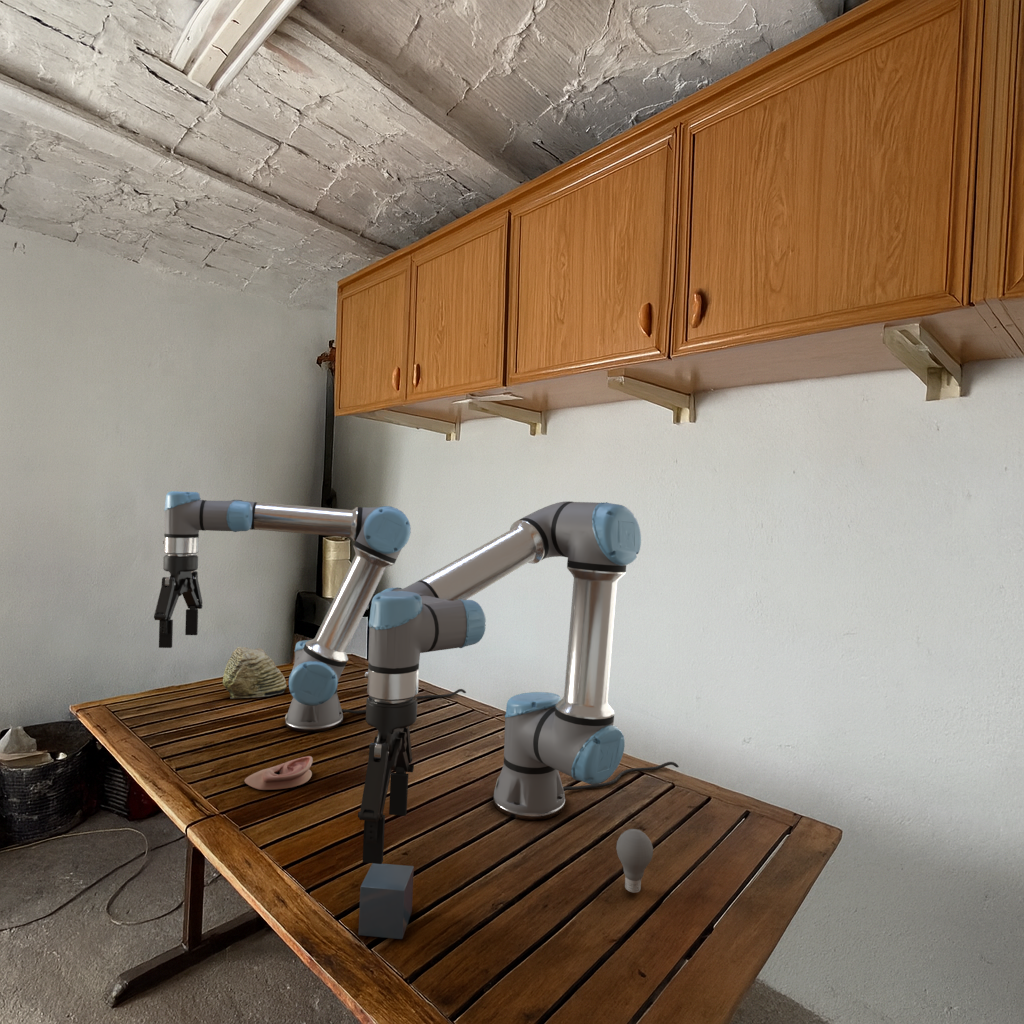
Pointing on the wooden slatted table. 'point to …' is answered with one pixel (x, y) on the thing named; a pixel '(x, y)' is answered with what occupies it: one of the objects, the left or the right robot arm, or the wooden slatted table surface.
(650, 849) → the light bulb
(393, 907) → the block
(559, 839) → the wooden slatted table surface
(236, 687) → the fossil
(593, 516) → the right robot arm
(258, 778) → the anatomical model
